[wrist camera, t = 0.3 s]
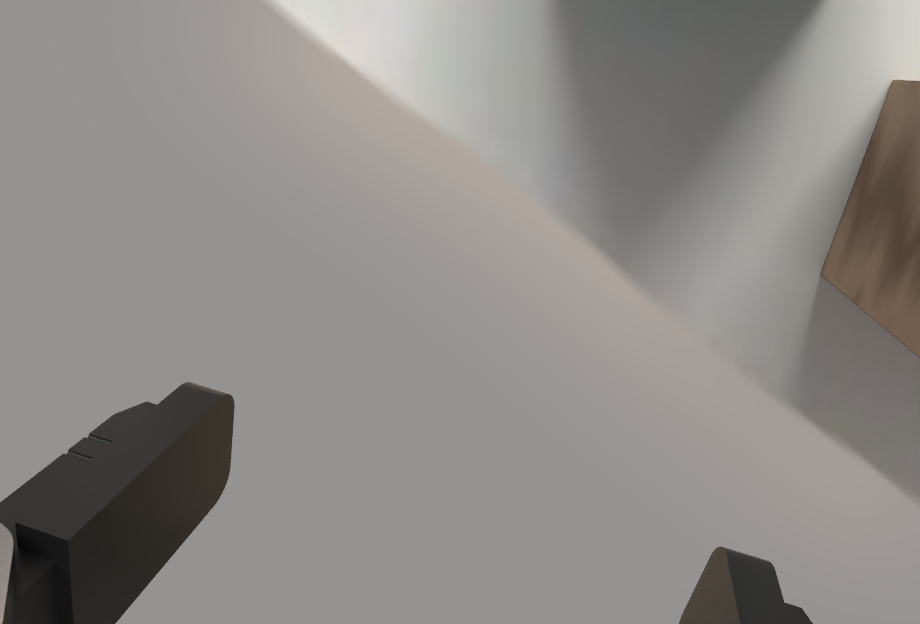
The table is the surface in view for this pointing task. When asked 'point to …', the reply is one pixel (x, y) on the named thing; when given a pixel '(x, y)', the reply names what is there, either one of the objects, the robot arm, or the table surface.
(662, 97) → the table surface
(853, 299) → the walnut stand
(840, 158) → the table surface
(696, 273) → the table surface
